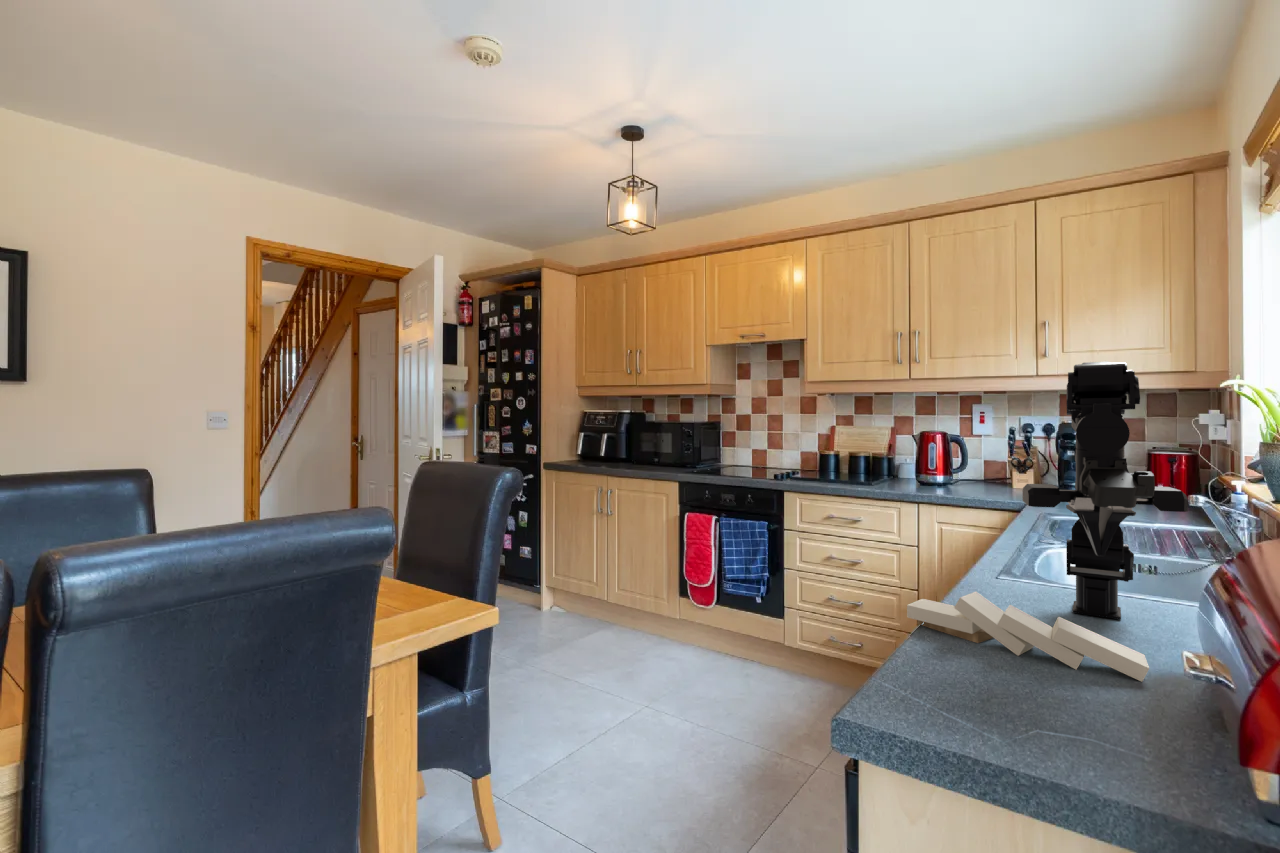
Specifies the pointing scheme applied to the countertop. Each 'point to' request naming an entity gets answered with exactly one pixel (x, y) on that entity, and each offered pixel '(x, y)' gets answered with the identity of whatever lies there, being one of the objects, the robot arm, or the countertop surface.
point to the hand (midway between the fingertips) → (1099, 555)
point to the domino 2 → (960, 632)
